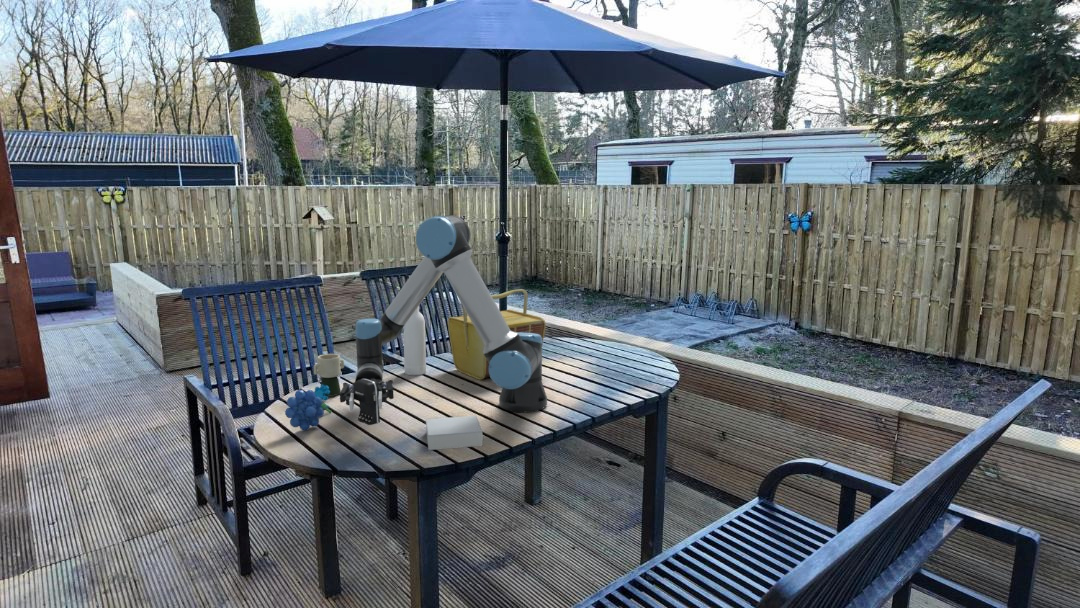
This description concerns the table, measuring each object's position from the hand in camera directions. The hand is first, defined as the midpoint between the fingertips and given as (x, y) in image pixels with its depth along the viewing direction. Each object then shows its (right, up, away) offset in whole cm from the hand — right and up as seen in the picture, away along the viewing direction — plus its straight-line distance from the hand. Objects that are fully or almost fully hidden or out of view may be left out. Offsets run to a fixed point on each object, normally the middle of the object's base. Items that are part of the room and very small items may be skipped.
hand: (365, 404), depth 158 cm
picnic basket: (+28, 0, +77) cm, 82 cm away
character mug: (-24, -4, +46) cm, 52 cm away
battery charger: (-1, -6, +6) cm, 8 cm away
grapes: (-20, -10, +15) cm, 27 cm away
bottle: (-2, 0, +72) cm, 72 cm away
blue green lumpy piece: (-23, -7, +30) cm, 39 cm away
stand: (+21, -11, +10) cm, 26 cm away
